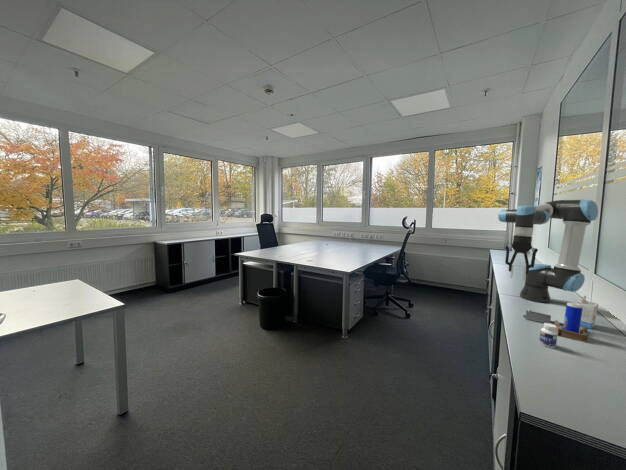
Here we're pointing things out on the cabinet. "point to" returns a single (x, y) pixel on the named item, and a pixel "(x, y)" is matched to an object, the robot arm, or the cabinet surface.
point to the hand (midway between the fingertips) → (517, 278)
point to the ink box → (588, 313)
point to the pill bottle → (548, 335)
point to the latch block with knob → (538, 316)
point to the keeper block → (568, 334)
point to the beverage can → (572, 317)
